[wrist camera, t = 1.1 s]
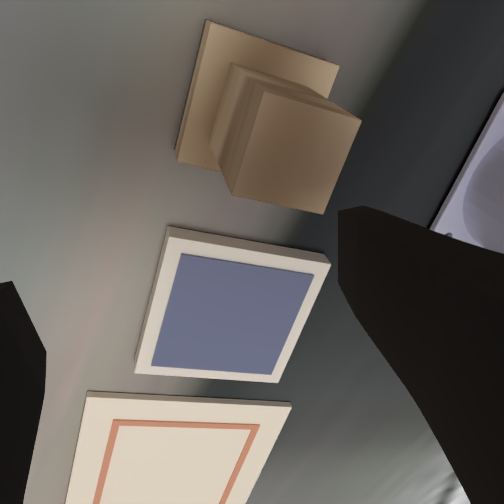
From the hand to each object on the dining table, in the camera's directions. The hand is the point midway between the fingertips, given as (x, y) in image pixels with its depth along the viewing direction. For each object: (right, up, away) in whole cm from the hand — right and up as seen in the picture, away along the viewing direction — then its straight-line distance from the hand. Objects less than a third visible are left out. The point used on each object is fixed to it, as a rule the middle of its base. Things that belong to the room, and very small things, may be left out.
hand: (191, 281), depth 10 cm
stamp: (+1, +7, +8) cm, 11 cm away
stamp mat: (-4, -13, +19) cm, 23 cm away
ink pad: (0, -2, +13) cm, 13 cm away
